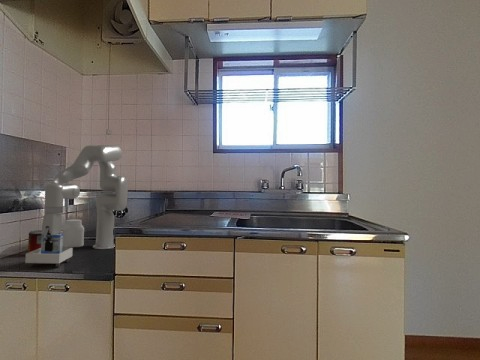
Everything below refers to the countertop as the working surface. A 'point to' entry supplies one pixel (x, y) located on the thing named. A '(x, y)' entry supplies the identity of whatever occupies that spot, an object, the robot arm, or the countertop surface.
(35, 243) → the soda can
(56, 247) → the medicine box
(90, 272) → the countertop surface
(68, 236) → the jar
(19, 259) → the countertop surface
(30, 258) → the white storage bin
